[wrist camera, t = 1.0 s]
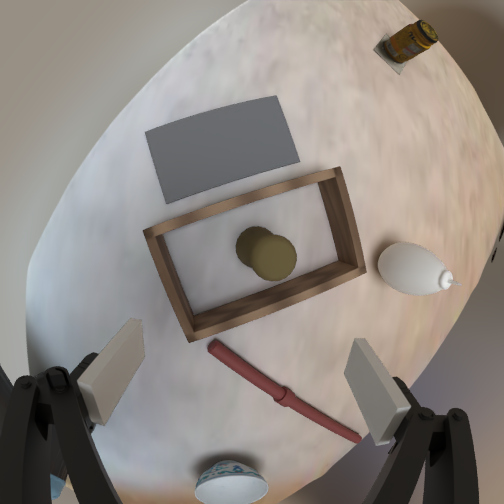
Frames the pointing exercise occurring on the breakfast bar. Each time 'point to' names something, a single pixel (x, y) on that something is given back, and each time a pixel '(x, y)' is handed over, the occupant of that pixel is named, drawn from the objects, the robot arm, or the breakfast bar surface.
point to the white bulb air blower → (413, 269)
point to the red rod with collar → (278, 391)
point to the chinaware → (230, 484)
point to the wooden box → (276, 296)
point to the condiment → (406, 44)
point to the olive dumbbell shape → (266, 253)
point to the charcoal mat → (220, 147)
